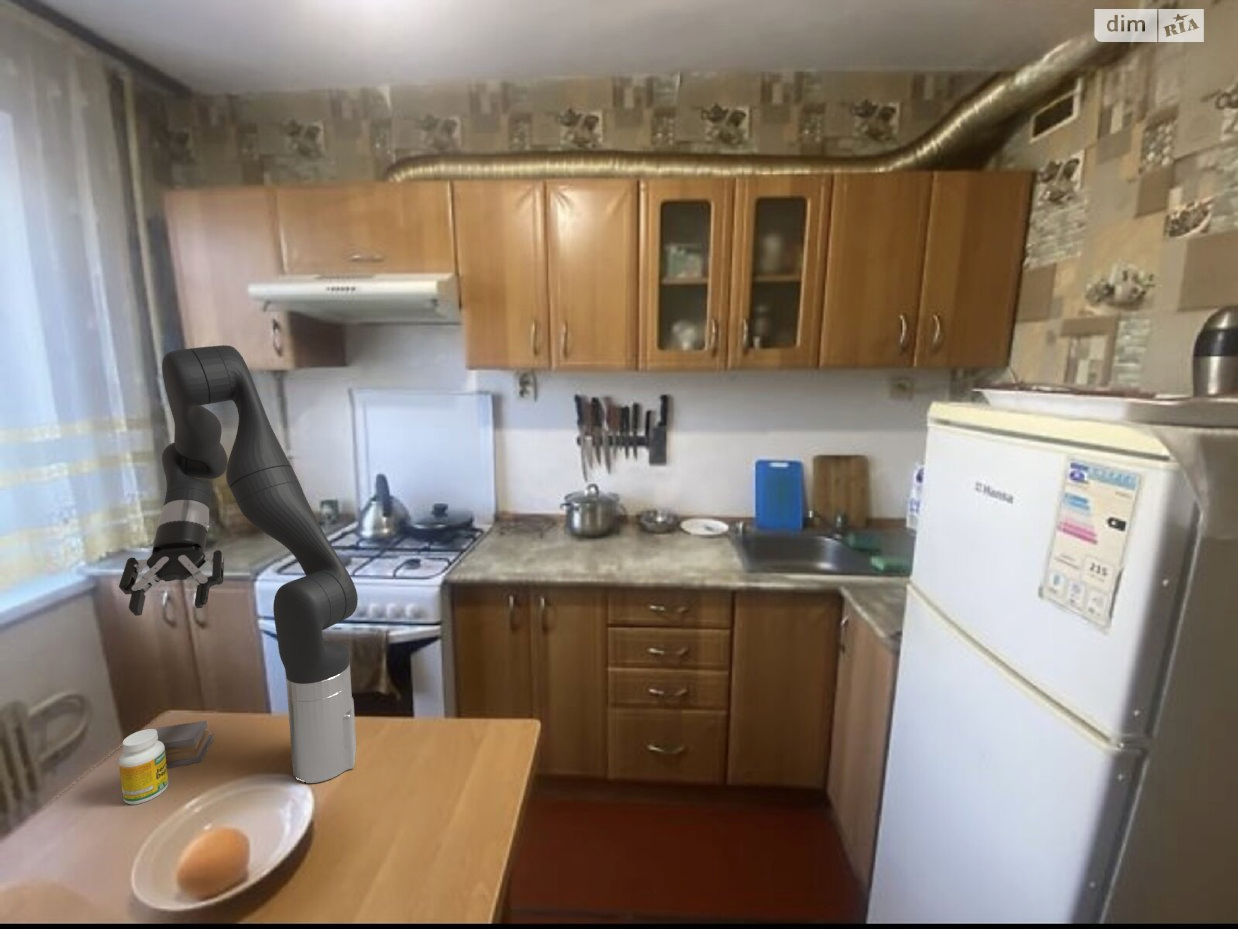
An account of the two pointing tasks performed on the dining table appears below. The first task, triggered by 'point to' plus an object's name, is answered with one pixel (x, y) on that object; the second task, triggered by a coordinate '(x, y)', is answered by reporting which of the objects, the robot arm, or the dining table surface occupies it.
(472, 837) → the dining table surface
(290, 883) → the dining table surface
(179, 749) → the offcut stack
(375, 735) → the dining table surface
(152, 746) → the supplement bottle
